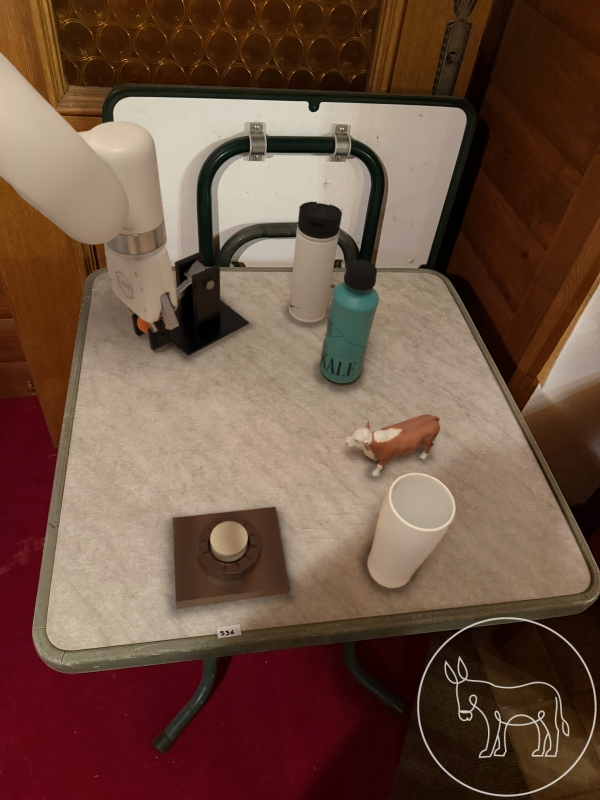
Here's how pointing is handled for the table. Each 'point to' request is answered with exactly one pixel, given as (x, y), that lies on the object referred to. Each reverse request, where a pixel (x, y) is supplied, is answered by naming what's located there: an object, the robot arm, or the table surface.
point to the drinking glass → (409, 527)
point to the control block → (228, 581)
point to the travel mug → (313, 261)
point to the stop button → (229, 541)
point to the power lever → (177, 291)
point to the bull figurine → (396, 439)
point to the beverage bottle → (350, 323)
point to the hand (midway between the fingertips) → (153, 337)
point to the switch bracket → (202, 309)
